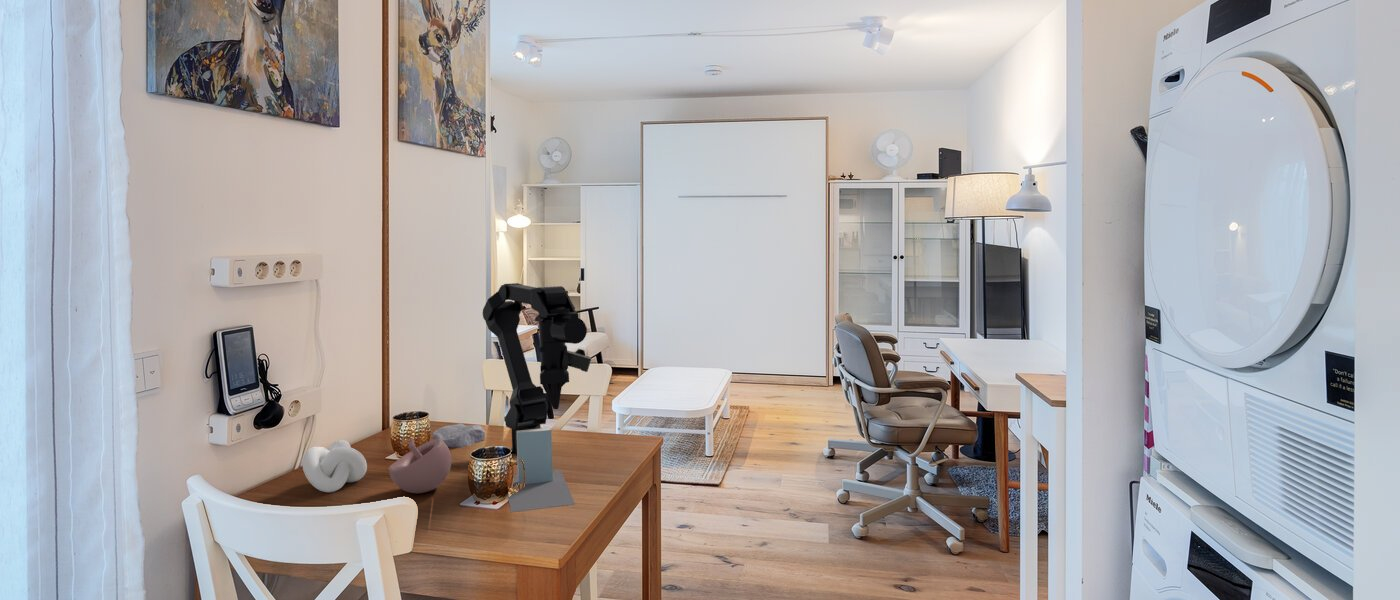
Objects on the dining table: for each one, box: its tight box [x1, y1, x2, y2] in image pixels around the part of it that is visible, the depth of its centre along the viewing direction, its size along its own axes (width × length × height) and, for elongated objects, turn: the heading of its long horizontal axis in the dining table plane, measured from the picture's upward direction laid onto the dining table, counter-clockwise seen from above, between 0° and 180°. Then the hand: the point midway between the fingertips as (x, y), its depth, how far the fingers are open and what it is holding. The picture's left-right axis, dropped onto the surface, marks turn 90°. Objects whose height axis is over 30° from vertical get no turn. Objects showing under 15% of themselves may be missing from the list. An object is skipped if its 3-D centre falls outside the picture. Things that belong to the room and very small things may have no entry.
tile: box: [516, 427, 553, 485], centre depth 147 cm, size 2×7×11 cm, turn 108°
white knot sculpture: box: [301, 439, 368, 493], centre depth 148 cm, size 11×12×9 cm
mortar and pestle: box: [388, 437, 452, 494], centre depth 143 cm, size 12×12×12 cm
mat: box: [507, 469, 576, 513], centre depth 143 cm, size 22×12×1 cm, turn 18°
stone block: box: [432, 422, 486, 449], centre depth 181 cm, size 12×5×10 cm
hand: (555, 408), depth 160 cm, fingers closed
